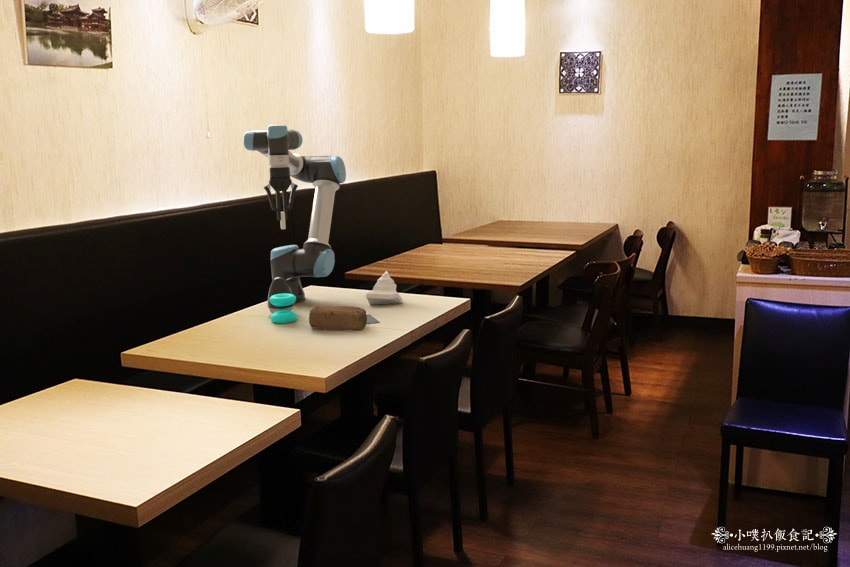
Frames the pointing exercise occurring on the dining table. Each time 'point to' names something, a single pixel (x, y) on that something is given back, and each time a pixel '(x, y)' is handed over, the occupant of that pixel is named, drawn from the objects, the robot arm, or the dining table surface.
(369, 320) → the mat
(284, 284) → the dark grey tapered piece
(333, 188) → the robot arm
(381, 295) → the soft serve ice cream
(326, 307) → the block
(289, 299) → the donuts
